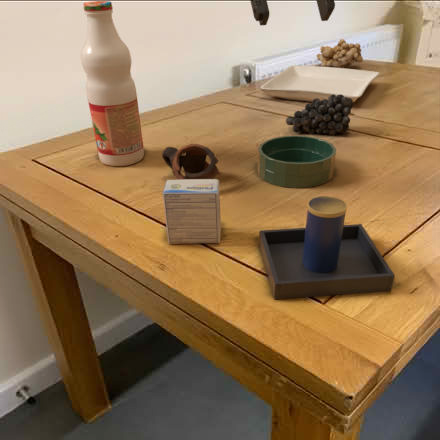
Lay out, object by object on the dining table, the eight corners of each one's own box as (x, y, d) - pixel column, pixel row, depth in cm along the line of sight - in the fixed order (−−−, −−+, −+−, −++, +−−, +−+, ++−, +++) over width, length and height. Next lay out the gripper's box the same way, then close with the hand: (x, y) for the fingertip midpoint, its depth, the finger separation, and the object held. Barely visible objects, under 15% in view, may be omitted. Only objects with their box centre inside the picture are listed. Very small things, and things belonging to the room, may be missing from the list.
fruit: (286, 93, 101) (358, 92, 98) (287, 96, 108) (354, 95, 106) (284, 135, 103) (354, 136, 101) (285, 135, 111) (350, 135, 109)
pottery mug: (228, 177, 90) (228, 149, 82) (204, 215, 87) (202, 189, 79) (175, 153, 92) (170, 124, 85) (150, 189, 89) (142, 162, 82)
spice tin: (332, 252, 67) (340, 194, 61) (342, 272, 63) (352, 212, 57) (298, 254, 66) (303, 196, 61) (306, 274, 62) (312, 214, 57)
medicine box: (221, 229, 73) (219, 178, 68) (220, 244, 70) (218, 191, 65) (171, 230, 74) (166, 178, 68) (167, 245, 70) (162, 192, 65)
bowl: (322, 158, 95) (324, 133, 92) (342, 188, 84) (345, 161, 81) (253, 162, 95) (253, 137, 92) (264, 192, 83) (265, 166, 80)
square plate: (290, 77, 148) (291, 63, 146) (378, 84, 138) (381, 70, 136) (258, 99, 129) (258, 84, 127) (357, 110, 119) (359, 94, 117)
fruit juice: (137, 168, 94) (114, 5, 76) (92, 166, 95) (60, 6, 78) (150, 150, 101) (131, -2, 84) (108, 149, 102) (81, -1, 85)
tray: (358, 238, 70) (361, 223, 69) (391, 291, 60) (395, 275, 58) (258, 244, 70) (259, 230, 68) (274, 299, 59) (275, 283, 58)
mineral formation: (341, 60, 164) (373, 65, 153) (312, 73, 160) (343, 78, 149) (340, 35, 159) (374, 38, 148) (310, 47, 155) (342, 51, 144)
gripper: (222, -121, 57) (250, 0, 55) (331, -123, 59) (360, -7, 57) (213, -66, 64) (237, 42, 62) (310, -69, 66) (336, 34, 65)
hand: (296, 18), depth 60 cm, fingers open, 8 cm apart
